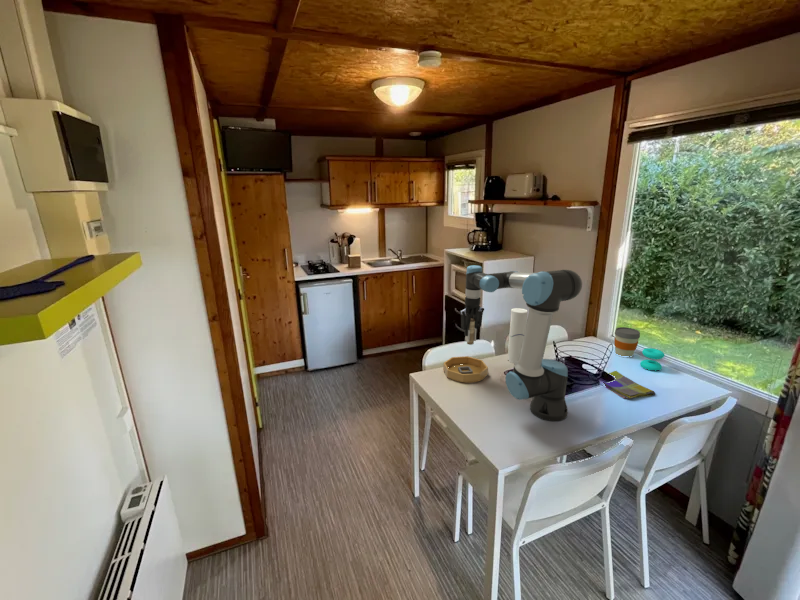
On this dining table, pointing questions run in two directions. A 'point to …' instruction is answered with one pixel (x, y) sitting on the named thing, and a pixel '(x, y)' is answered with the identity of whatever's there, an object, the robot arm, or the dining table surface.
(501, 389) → the dining table surface
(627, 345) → the reusable coffee cup
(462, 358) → the octagonal shallow tray
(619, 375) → the dish towel
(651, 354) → the donuts
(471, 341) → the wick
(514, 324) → the container
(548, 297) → the robot arm
